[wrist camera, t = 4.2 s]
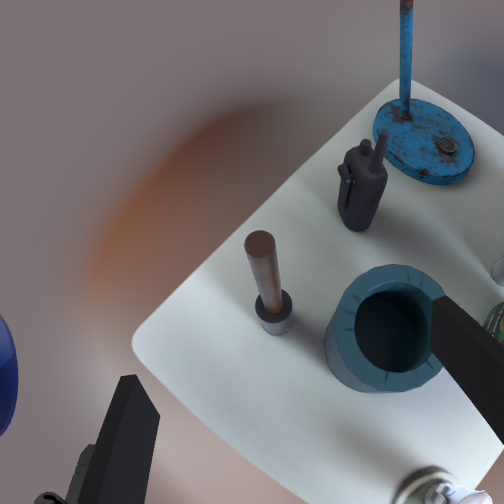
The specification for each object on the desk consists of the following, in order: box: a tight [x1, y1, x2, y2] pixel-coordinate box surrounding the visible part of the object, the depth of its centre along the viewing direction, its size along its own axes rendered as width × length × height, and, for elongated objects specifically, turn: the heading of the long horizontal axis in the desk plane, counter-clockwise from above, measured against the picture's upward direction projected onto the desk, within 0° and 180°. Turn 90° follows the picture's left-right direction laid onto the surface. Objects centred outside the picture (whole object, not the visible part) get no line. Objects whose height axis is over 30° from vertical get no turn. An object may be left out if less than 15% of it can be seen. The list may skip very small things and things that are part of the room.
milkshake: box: [425, 482, 492, 504], centre depth 18 cm, size 4×5×10 cm
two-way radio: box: [338, 129, 389, 232], centre depth 30 cm, size 6×4×15 cm
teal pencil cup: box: [324, 264, 446, 393], centre depth 27 cm, size 10×10×9 cm
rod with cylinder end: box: [244, 230, 293, 336], centre depth 25 cm, size 3×3×18 cm
